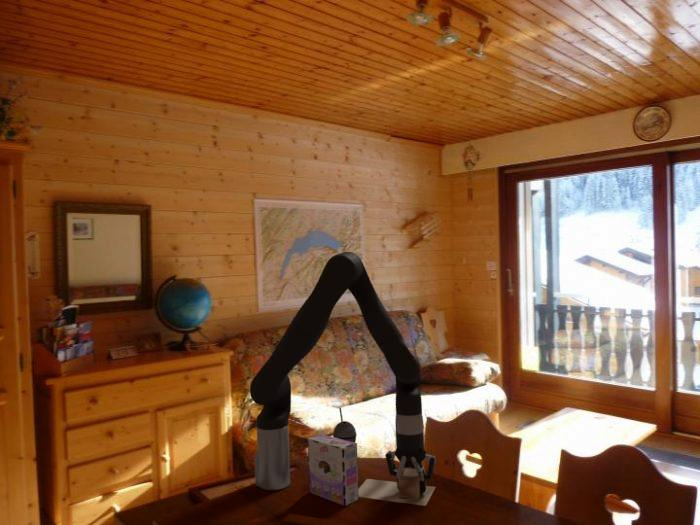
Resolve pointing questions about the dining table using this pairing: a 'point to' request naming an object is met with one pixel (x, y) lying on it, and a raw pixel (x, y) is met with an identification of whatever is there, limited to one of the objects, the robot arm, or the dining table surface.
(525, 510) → the dining table surface
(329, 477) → the candy box
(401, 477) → the block
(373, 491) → the board
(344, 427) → the beverage cup
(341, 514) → the dining table surface
